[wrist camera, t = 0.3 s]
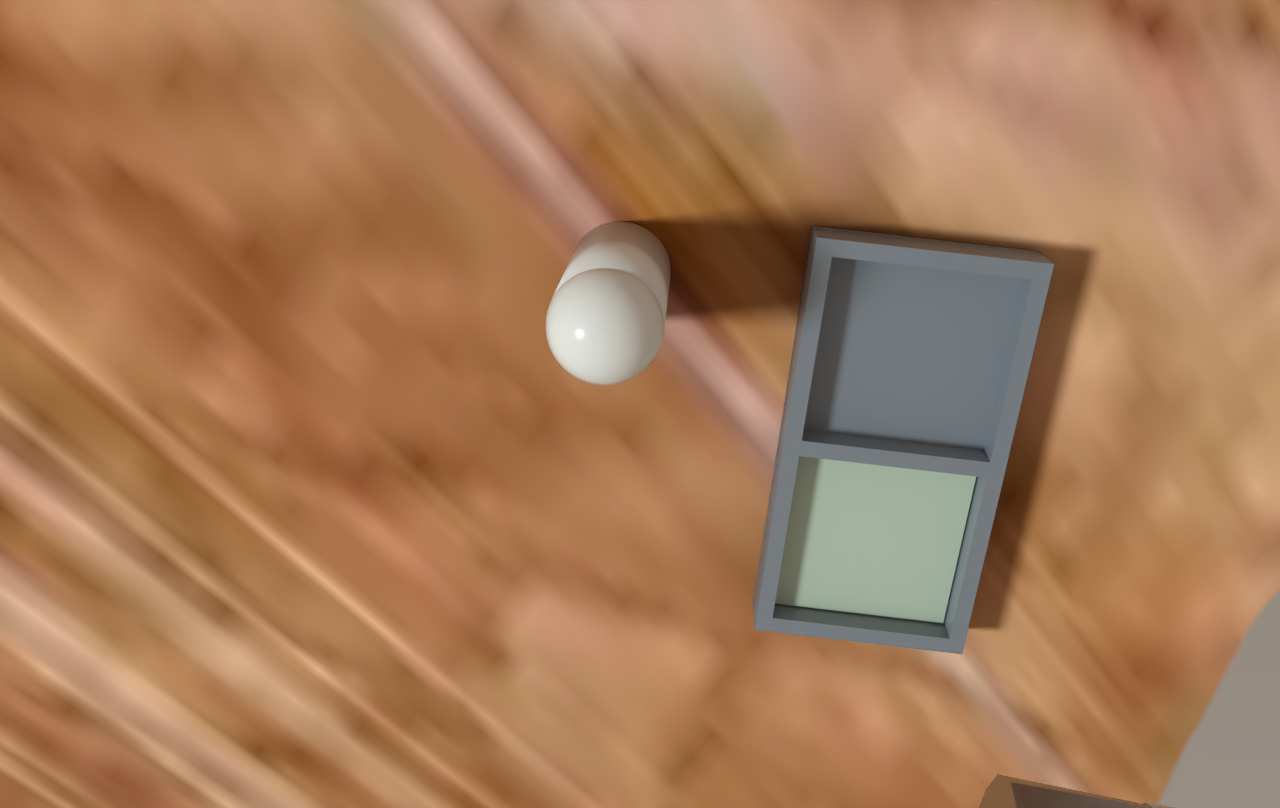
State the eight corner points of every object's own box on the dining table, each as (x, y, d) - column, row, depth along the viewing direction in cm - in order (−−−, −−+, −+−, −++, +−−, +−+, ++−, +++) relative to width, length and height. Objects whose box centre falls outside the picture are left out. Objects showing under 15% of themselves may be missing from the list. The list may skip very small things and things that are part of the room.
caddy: (812, 225, 54) (816, 237, 52) (1039, 251, 54) (1054, 264, 51) (752, 604, 61) (754, 629, 59) (952, 627, 61) (962, 654, 59)
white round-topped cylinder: (574, 215, 54) (542, 276, 44) (676, 227, 54) (668, 291, 44) (566, 313, 56) (534, 394, 45) (665, 324, 56) (655, 408, 45)
